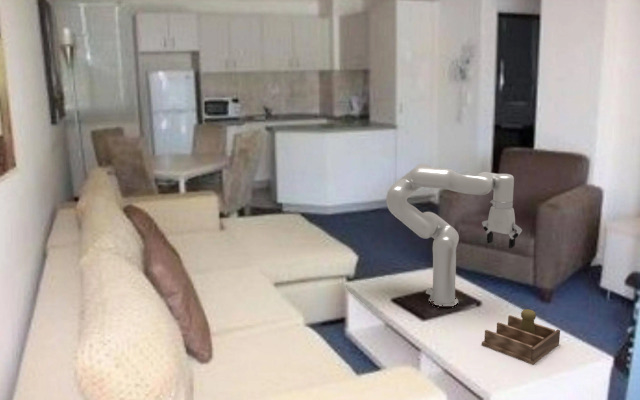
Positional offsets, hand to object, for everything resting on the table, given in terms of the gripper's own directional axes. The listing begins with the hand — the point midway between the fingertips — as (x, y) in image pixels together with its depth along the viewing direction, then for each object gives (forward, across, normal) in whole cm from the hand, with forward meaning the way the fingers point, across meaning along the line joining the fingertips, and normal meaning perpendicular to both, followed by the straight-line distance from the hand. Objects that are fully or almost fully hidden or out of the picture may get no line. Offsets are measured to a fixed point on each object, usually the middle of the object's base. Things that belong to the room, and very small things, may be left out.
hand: (500, 245), depth 234 cm
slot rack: (+28, +22, -22) cm, 42 cm away
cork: (+27, +22, -18) cm, 39 cm away
